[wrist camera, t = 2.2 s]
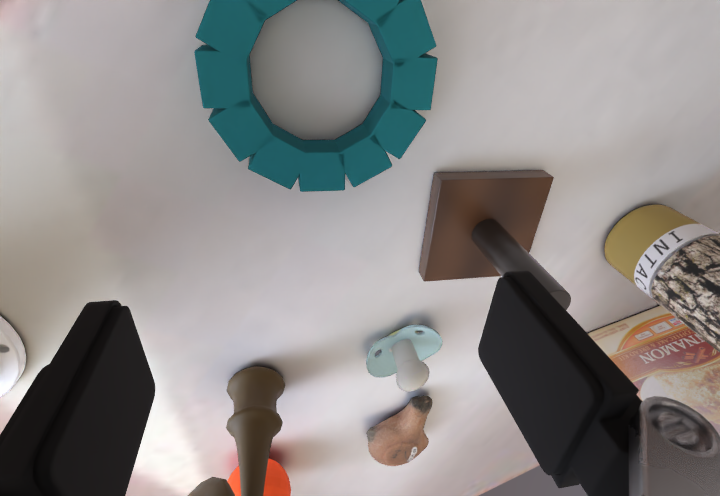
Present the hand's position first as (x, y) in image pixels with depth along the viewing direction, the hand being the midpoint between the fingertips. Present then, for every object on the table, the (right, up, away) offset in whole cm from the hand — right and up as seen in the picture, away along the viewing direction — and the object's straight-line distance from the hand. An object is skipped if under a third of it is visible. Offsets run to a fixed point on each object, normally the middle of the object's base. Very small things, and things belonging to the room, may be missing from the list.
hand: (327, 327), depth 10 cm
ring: (-2, +13, +14) cm, 19 cm away
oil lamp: (+5, -17, +35) cm, 39 cm away
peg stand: (+11, +4, +22) cm, 25 cm away
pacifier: (+5, -7, +28) cm, 30 cm away
